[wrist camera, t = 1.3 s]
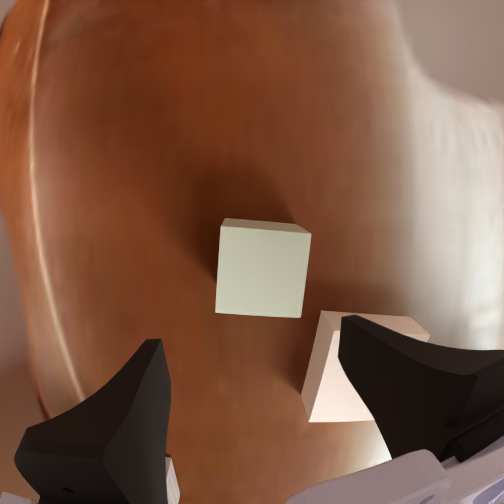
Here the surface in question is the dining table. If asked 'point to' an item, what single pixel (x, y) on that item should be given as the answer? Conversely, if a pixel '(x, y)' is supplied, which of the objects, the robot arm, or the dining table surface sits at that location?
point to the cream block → (332, 375)
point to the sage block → (262, 268)
